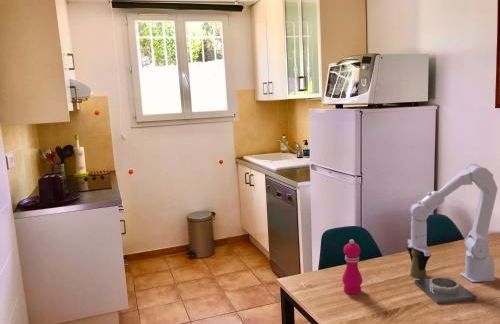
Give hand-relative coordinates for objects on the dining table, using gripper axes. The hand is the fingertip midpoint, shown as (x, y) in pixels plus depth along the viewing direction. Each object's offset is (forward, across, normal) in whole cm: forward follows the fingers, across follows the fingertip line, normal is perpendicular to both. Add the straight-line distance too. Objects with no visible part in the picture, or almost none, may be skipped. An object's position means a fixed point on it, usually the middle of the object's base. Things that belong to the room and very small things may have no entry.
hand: (418, 267), depth 159 cm
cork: (+4, 0, 0) cm, 4 cm away
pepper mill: (+4, +9, -30) cm, 32 cm away
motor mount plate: (+3, +15, +2) cm, 16 cm away
